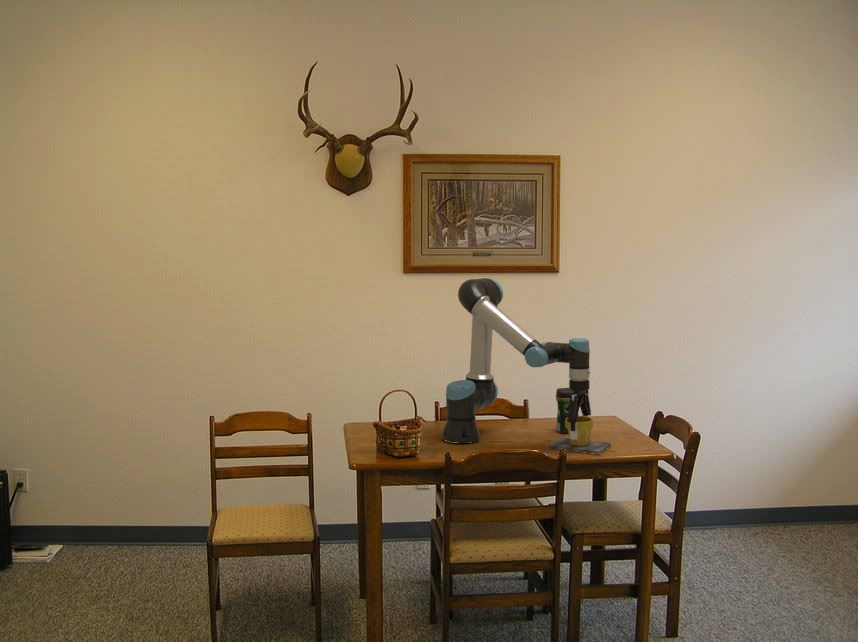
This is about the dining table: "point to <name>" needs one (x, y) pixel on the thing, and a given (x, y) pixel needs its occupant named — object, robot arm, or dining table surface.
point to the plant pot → (581, 430)
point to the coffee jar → (563, 408)
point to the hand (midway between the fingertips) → (579, 435)
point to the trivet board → (592, 446)
